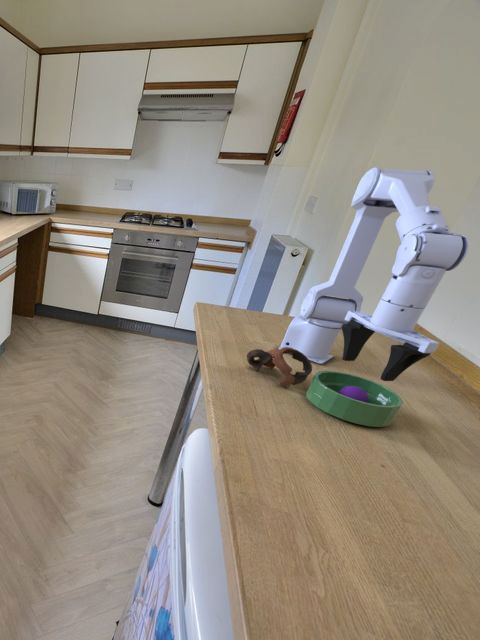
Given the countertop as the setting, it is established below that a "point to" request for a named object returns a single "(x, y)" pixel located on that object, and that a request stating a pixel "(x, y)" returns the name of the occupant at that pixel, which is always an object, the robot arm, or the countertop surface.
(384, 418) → the bowl
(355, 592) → the countertop surface
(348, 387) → the ball
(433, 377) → the countertop surface
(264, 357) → the brown curved loop
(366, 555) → the countertop surface
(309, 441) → the countertop surface
